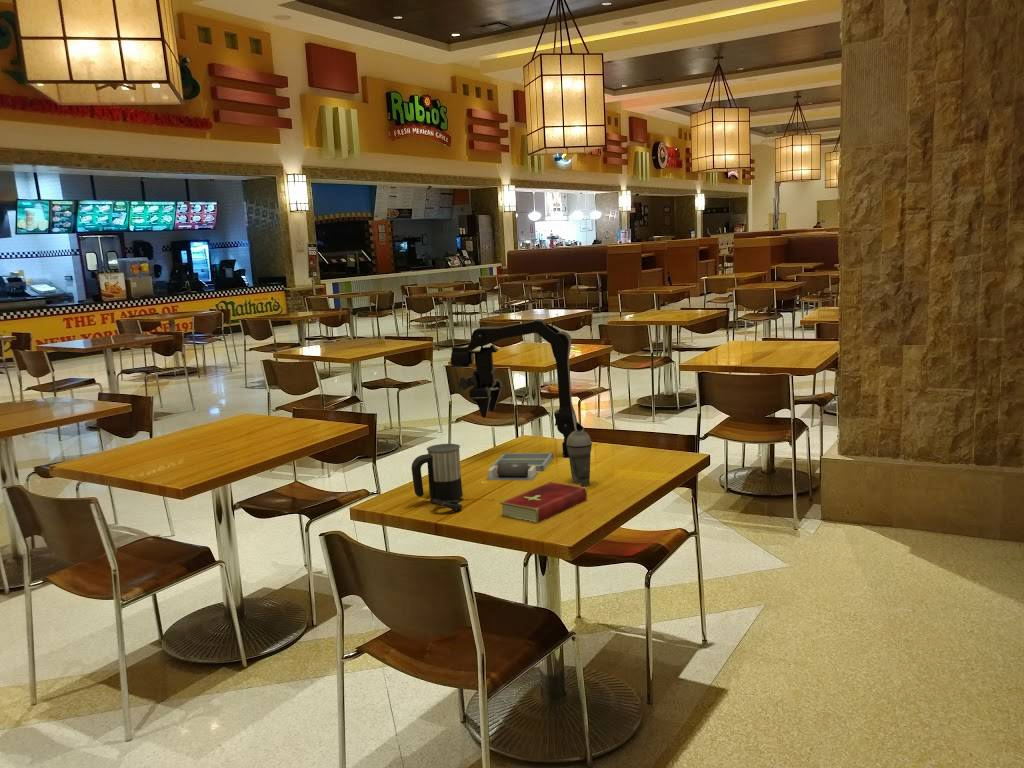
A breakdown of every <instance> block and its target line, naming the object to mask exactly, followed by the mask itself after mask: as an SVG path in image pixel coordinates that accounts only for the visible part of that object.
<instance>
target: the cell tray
mask: <svg viewBox="0 0 1024 768" xmlns="http://www.w3.org/2000/svg"><path fill="white" fill-rule="evenodd" d="M553 459H554V453H553V452H505V453H504V452H503V453H502V454H501V455H500V456H499V457H498V458H497V459H496V460H495V461H494V462H493V463H492V464H491V465H490V468H491V467H492V466H498V463H528V468H529V469H530V468H531V466H536V472H544V471H545V469H546V468H547V467H548V466H549V464H550V463H551V462H552V460H553Z"/></svg>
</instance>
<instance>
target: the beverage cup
mask: <svg viewBox="0 0 1024 768" xmlns="http://www.w3.org/2000/svg"><path fill="white" fill-rule="evenodd" d="M572 416H573V422H574V428H575V431H573V432H572V433H570V435H569V436H568V438H567V444H566V446H567V450H568V453H569V458H568V460H569V466H570V473H571V480H572V483H574V484H579V486H584V487H587V485H588V486H589V485H590V479H591V476H590V475H591V455H592V454H591V453H592V446H593V443H592V439H591V437H590V435H589V434H588V432H586V431H585V430H584V431H583V430H577V428H576V423H575V417H574V415H572Z"/></svg>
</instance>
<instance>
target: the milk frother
mask: <svg viewBox="0 0 1024 768" xmlns="http://www.w3.org/2000/svg"><path fill="white" fill-rule="evenodd" d="M460 448H461V445H459V444H456V443H440V444H434V445H430V446H428V447H426V452H427V453H425V454H421V455H418V456H417V457H416V458H414V460H413V461H412V463H411V474H412V475H411V477H412V481H413V482H412V483H413V488H414V493H415V496H417V497H423V496H424V493H425V491H424V484H423V477H422V467H423V465H424V464H426V463H427V475H428V477H427V478H428V489H429V490H428V491H429V496H430V499H429V501H430V502H431V503H433V504H436V505H440V506H441V505H442V506H443V507H446V508H448V509H451V510H452V511H457V509H462V508H463V503H461V501H463V500H464V497H463V496H464V495H463V486H462V485H463V483H462V473H461V458H460V457H461V455H460V454H461V453H460ZM459 502H460V503H459Z"/></svg>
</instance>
